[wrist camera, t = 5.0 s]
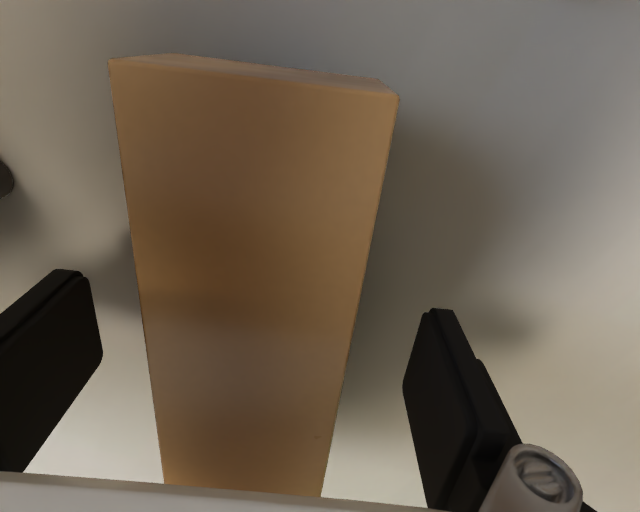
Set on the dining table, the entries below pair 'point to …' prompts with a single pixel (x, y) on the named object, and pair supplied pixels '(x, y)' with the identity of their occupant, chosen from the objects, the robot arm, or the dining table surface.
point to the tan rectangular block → (248, 255)
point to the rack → (5, 181)
